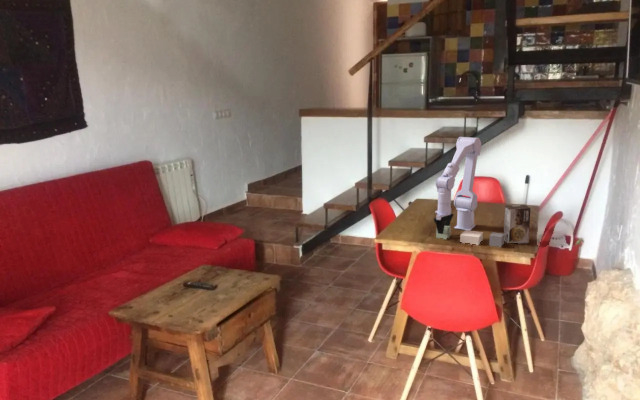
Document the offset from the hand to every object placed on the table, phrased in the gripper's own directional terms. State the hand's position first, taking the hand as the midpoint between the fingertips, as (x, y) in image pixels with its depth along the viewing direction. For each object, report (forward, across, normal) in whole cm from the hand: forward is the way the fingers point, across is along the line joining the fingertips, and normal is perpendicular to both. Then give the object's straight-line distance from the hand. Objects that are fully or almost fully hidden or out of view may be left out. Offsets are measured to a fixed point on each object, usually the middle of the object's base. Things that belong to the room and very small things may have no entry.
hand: (443, 231), depth 233 cm
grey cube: (+3, 0, +24) cm, 24 cm away
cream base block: (+3, 0, +13) cm, 13 cm away
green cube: (+3, 0, 0) cm, 3 cm away
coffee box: (+3, -9, +30) cm, 31 cm away
